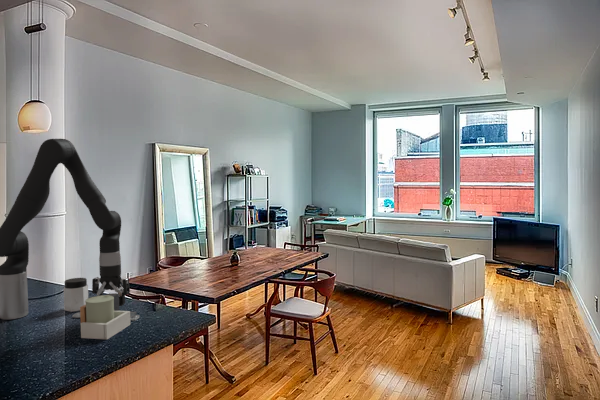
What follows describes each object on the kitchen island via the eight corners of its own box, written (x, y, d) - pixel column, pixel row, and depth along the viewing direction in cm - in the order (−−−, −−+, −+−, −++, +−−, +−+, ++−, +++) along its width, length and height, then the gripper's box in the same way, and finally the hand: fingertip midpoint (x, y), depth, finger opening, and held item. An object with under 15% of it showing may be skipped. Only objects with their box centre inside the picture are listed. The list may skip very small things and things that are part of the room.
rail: (72, 317, 165) (72, 315, 165) (78, 314, 168) (77, 312, 168) (135, 320, 161) (135, 318, 161) (139, 317, 164) (139, 315, 164)
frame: (81, 337, 144) (80, 323, 144) (106, 323, 158) (106, 310, 158) (107, 339, 142) (106, 324, 142) (130, 324, 157) (130, 311, 156)
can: (120, 328, 153) (119, 295, 152) (100, 337, 145) (99, 302, 144) (101, 325, 156) (100, 292, 156) (80, 333, 148) (78, 299, 147)
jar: (65, 313, 170) (64, 283, 170) (63, 307, 177) (62, 279, 176) (90, 309, 175) (89, 280, 174) (87, 304, 182) (86, 276, 181)
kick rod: (80, 329, 149) (79, 307, 149) (110, 313, 166) (109, 293, 166) (112, 331, 147) (111, 308, 147) (138, 314, 165) (138, 294, 164)
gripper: (86, 264, 160) (88, 307, 161) (121, 265, 158) (123, 308, 159) (99, 260, 168) (100, 301, 169) (132, 261, 166) (133, 302, 166)
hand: (111, 305), depth 164 cm, fingers open, 8 cm apart
